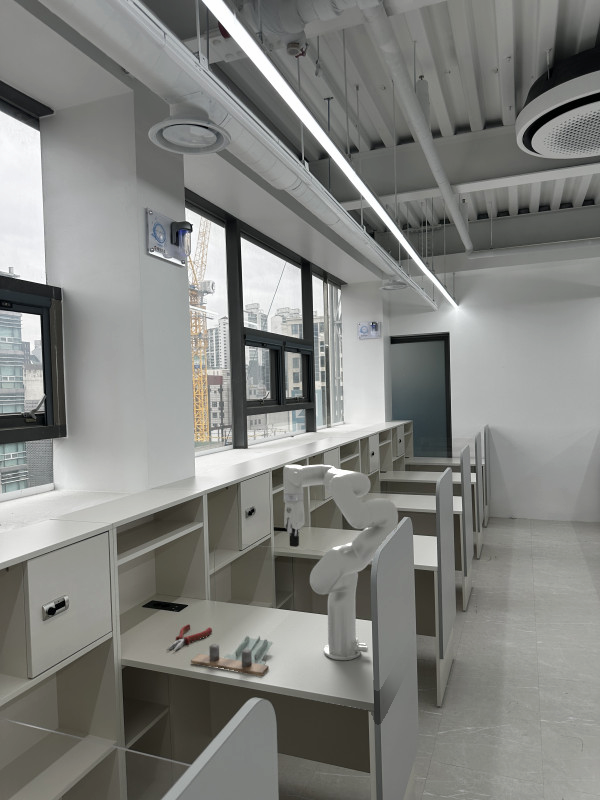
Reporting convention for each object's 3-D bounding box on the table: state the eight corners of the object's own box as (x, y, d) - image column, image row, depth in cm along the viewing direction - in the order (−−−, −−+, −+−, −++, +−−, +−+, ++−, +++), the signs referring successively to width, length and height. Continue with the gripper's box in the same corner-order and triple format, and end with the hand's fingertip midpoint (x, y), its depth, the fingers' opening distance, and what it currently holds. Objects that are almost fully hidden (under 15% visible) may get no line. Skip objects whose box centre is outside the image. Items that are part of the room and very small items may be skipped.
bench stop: (268, 669, 180) (268, 652, 181) (262, 676, 176) (261, 659, 176) (199, 657, 190) (198, 641, 190) (191, 663, 185) (190, 647, 185)
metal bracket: (240, 630, 199) (278, 636, 192) (243, 644, 200) (280, 651, 194) (219, 658, 186) (259, 666, 180) (222, 672, 188) (262, 681, 181)
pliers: (156, 651, 196) (156, 644, 196) (187, 629, 215) (187, 622, 215) (184, 656, 192) (184, 648, 192) (213, 633, 211) (213, 626, 211)
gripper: (295, 501, 203) (296, 551, 203) (309, 494, 217) (310, 542, 217) (276, 500, 206) (277, 550, 206) (291, 494, 220) (292, 540, 220)
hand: (294, 545), depth 211 cm, fingers closed
